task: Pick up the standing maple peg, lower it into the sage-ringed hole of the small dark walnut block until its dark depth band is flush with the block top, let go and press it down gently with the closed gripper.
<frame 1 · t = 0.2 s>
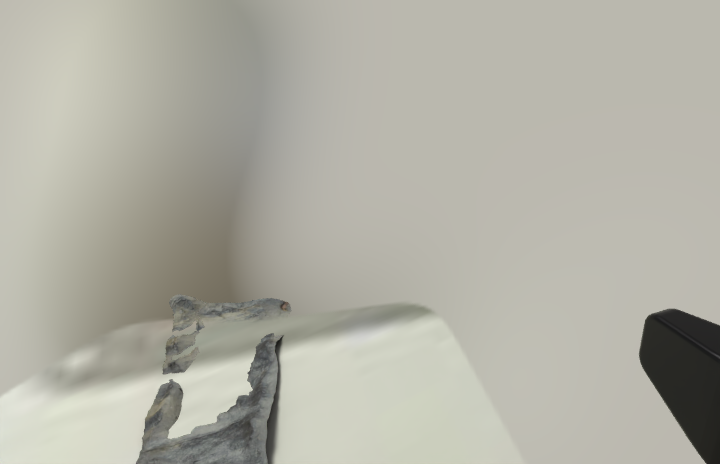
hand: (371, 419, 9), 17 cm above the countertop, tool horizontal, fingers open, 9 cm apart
driftwood: (219, 455, 30), on the countertop
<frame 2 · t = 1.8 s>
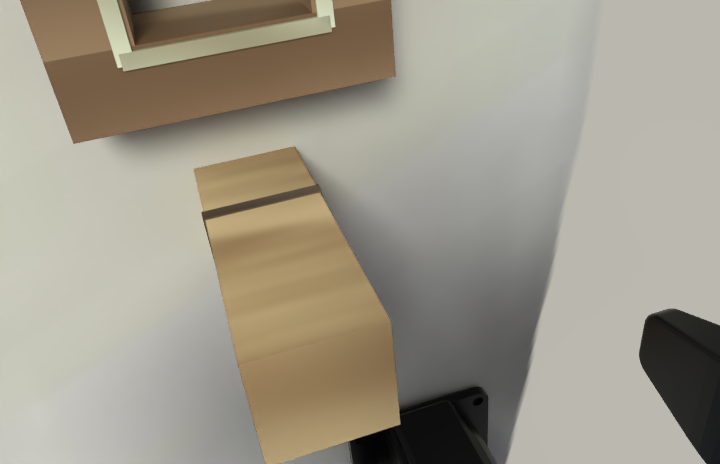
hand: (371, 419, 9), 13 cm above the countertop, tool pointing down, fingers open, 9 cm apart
peg: (254, 201, 21), on the countertop
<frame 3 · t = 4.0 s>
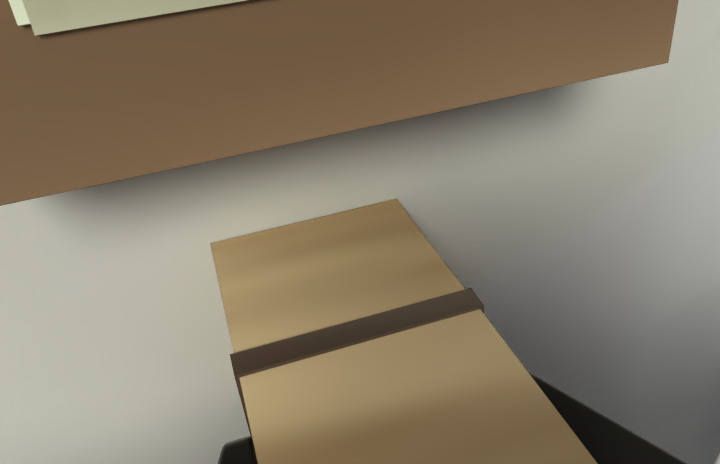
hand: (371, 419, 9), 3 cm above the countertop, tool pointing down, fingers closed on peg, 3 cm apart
peg: (318, 296, 12), on the countertop, touching gripper
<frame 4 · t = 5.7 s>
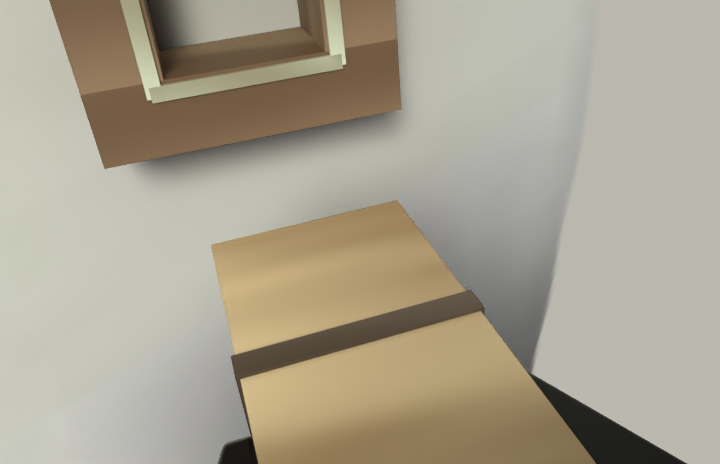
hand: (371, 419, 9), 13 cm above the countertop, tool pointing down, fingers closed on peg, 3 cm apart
peg: (318, 297, 12), point 10 cm above the countertop, touching gripper
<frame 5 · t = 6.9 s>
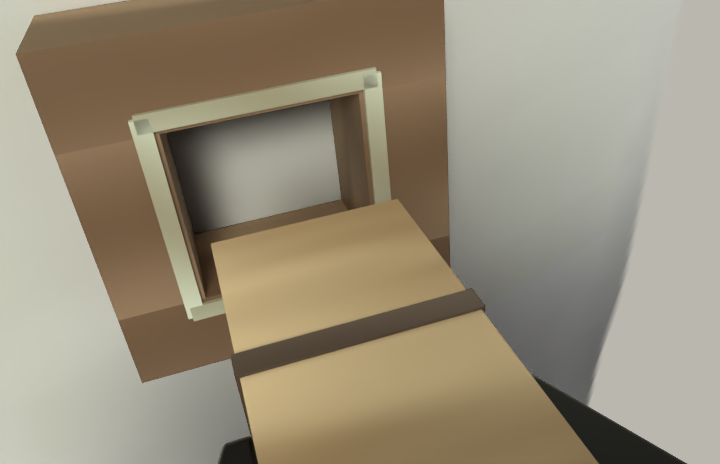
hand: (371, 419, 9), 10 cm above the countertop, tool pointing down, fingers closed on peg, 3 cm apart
board: (256, 148, 17), on the countertop
peg: (319, 296, 12), point 7 cm above the countertop, touching gripper
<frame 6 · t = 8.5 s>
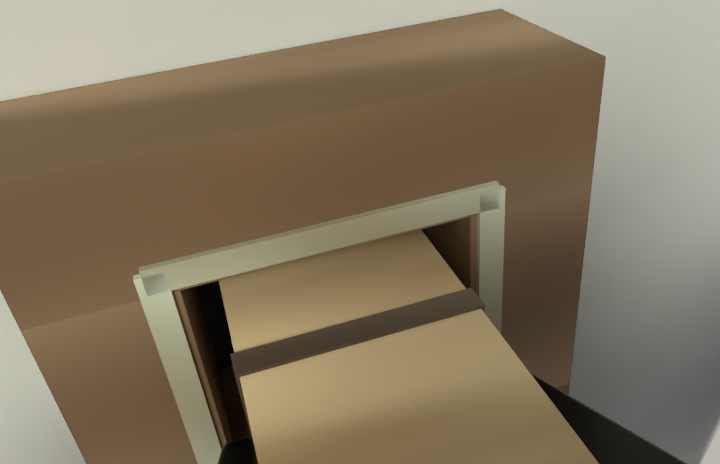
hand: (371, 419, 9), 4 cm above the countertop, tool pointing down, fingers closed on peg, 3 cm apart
board: (304, 260, 13), on the countertop
peg: (318, 295, 12), point 1 cm above the countertop, touching gripper
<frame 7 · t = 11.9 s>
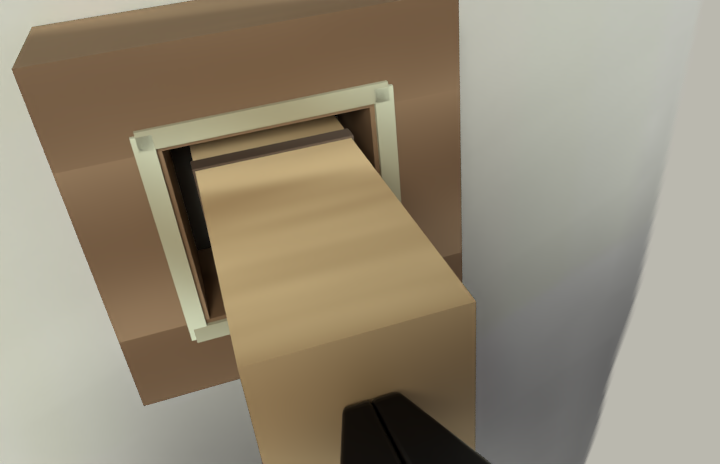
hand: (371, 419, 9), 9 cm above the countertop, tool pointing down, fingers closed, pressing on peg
board: (261, 162, 17), on the countertop
peg: (261, 161, 17), resting in board, touching gripper
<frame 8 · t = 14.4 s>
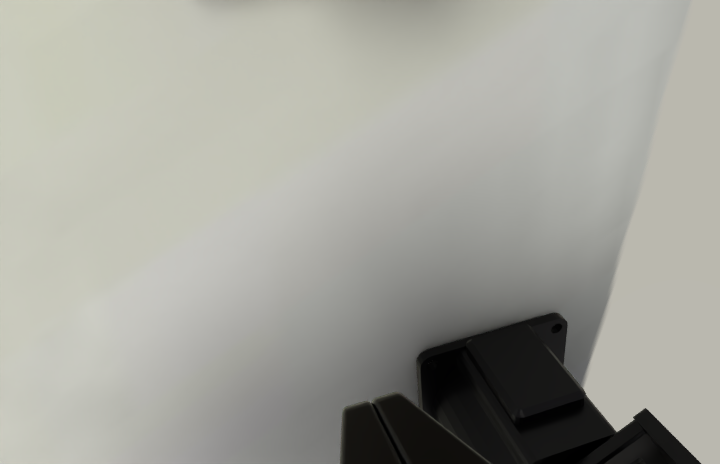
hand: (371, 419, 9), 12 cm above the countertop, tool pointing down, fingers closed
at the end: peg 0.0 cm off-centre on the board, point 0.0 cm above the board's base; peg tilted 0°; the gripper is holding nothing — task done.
